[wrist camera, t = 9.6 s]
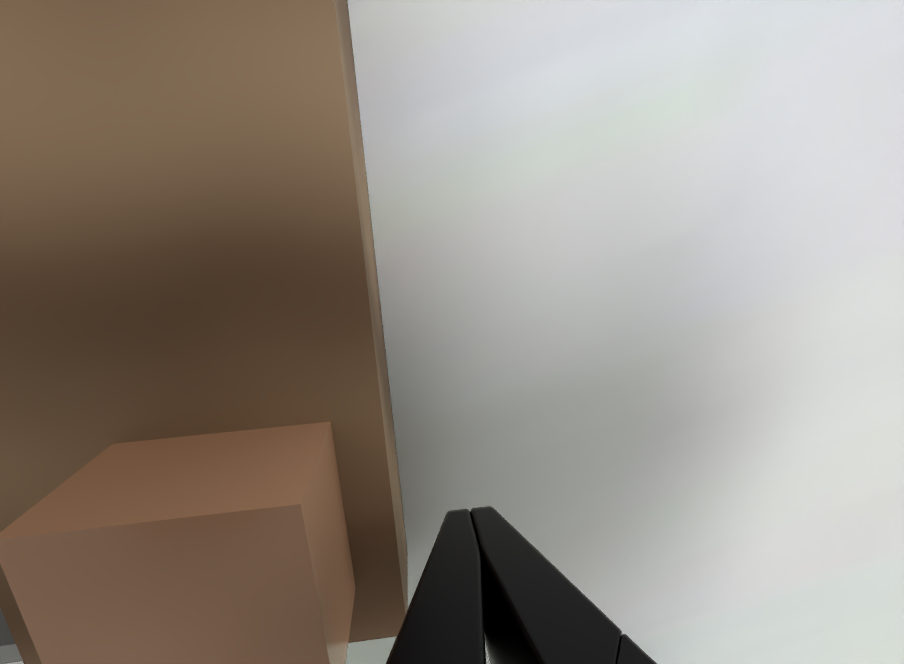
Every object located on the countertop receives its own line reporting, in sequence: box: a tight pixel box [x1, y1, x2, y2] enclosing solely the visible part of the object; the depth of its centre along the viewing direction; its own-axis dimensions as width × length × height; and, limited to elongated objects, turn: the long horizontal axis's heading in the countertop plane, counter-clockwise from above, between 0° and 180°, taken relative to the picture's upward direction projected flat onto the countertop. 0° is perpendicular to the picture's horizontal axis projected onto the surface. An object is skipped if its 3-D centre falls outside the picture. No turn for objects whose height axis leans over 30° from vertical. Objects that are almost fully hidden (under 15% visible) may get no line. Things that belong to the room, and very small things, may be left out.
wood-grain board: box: [0, 0, 408, 664], centre depth 9 cm, size 15×8×2 cm, turn 3°
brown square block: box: [0, 422, 356, 664], centre depth 8 cm, size 4×4×2 cm
